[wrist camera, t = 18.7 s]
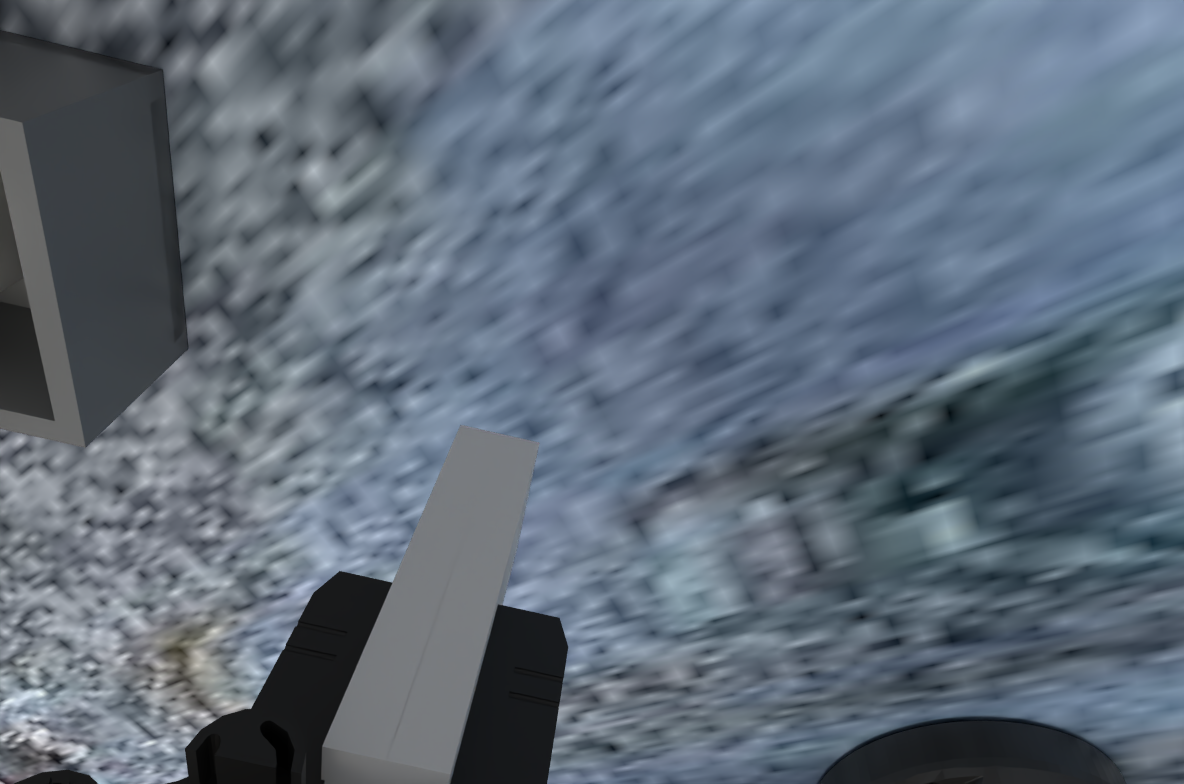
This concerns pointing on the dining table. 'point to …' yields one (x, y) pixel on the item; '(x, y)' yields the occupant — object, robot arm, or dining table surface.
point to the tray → (83, 239)
